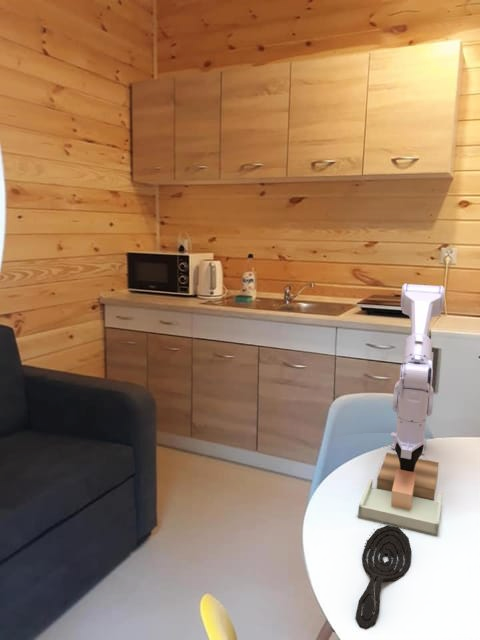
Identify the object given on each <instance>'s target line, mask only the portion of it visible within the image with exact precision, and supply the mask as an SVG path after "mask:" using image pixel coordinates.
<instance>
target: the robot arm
mask: <svg viewBox="0 0 480 640" xmlns="http://www.w3.org/2000/svg"><path fill="white" fill-rule="evenodd" d="M445 291H446V289H445V286H443V285H426V284H414V283H413V284H411V283H410V284H409V283H403V285H402V286H401V294H400V295H401V296H400V309H401V311H402V314H404V315H406V316H408V317H409V319H410V322H411V323H410V335H409V336H408V337H406V339H405V341H404V348H403V349H404V351H403V361H402V364H400V368H399V379H398V381H396V383H395V384H394V390H393V397H392V408H391V409H392V410H393V412H395V413H396V424H395V432H394V431H392V432H391V434H390V439H393V441H392V444H391V449H392V450H394V451H395V454H397V455H398V458H399V462H400V470H405V471H410V472H414V468H415V465H416V462H417V460H418V459H420V457H421V456H422V455H424V453H425V452H424V451H425V449H426V448H425V447H426V443H427V439H426V438H425V435H426V434H425V433H426V425H427V424H426V423H427V422H426V421H427V417H430V416H431V415H432V413H433V406H434V388H433V378H434V377H433V375H434V368H433V367H434V366H433V360H432V355H433V354H432V353H433V341H432V339H431V338H430V337H428V335H429V329H430V323H431V320H432V319H433V318H436V317H439V316H440V315H441V314H442V312H443V310H444V304H445V294H446V293H445Z"/></svg>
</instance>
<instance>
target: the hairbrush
mask: <svg viewBox="0 0 480 640" xmlns="http://www.w3.org/2000/svg"><path fill="white" fill-rule="evenodd" d="M388 524H389V523H388ZM388 524H387V523H386V524H385V523H384V526H382V525H381V524H380V525H379V528H377V529H375V528H373V531H374V532H372V533H371V534H372V535H370V536H369V537H368V538H367V539H366V540H365V541H366V543H364V546H363V547H364V548H363V552H362V556H361V559H362V560H361V561H362V566H363V570H364V572H365V573H366V574H367V576H368V577H369V578H370V579H369V582H368V584H367V585H366V586H367V587H366V588H365V590H364V591H363V593H362V594H361V596H360V598H359V599H358V603H357V607H356V611H355V620H356V623H357V625H358V627H359V628H361V629H364V630H368V629H370V628H371V627H374V626H375V625H376V623H377V620H378V617H379V614H380V607H381V591H382V588H383V584H386V583H392V582H396V581H399V580H400V579H401V578H403V577H404V576H405V575H406V574H407V572H408V571H409V569H410V567H411V563H412V547H411V543H410V538H409V536H408V535H406V533H404V531H403V530H402V528H401V527H396V526H395V525H394V526H392V525H388ZM392 524H393V523H392ZM396 525H397V524H396ZM381 526H382V527H381ZM385 557H386V558H387V561H385V560H386V558H385ZM384 559H385V560H384Z"/></svg>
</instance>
